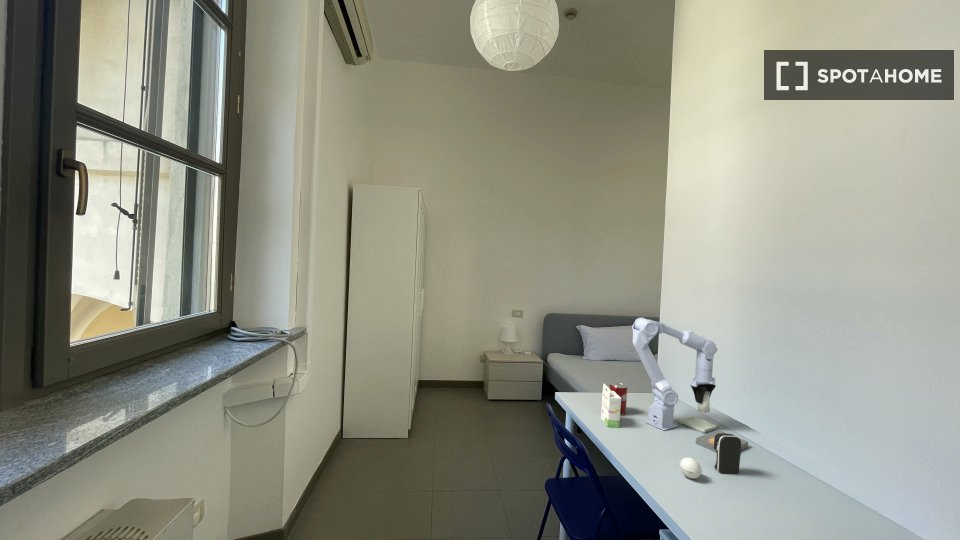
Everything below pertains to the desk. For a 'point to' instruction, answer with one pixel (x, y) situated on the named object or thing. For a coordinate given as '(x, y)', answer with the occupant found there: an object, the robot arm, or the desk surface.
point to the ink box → (610, 408)
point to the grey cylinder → (705, 403)
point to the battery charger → (727, 453)
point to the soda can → (620, 394)
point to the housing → (705, 438)
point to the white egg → (690, 468)
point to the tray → (698, 424)
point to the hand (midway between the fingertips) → (702, 401)
